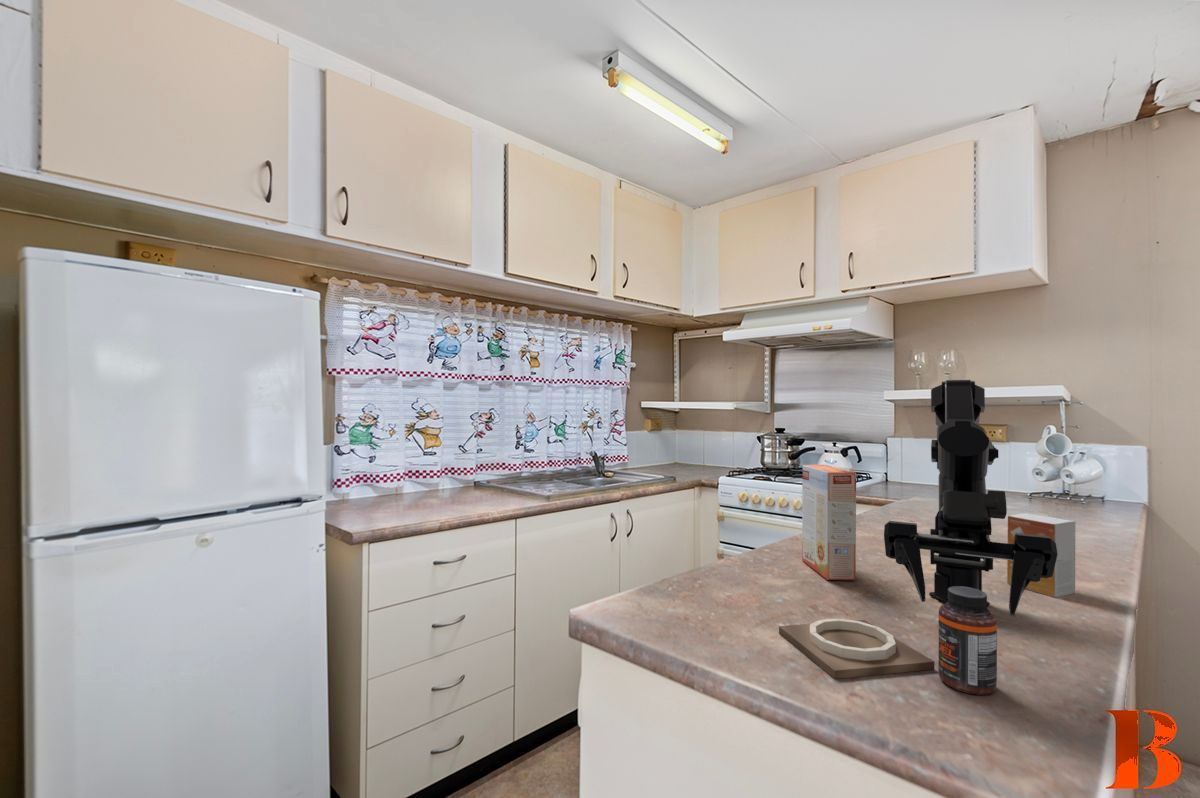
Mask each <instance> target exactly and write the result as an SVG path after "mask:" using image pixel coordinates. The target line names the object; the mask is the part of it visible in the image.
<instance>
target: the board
mask: <svg viewBox="0 0 1200 798" xmlns="http://www.w3.org/2000/svg"><path fill="white" fill-rule="evenodd" d="M854 621H860V622H863V623H867V624H870V625H873V626H875V625H874V624H872V623H870V622H869V621H867V620H865V619H857V620H854ZM810 624H811V623H806V624H805V623H803V624H791V625H779V626H778V633H779V635H781V637H783V638H784V639H786V641H788V642H789V643H790V644H792V645H793V646H794V647H795V648H797V650H799V651H800V652H801V653H803V654H804V655H805V656H806V657H807V658H809V659H810V660H811V661H812V662H814V663H815V664H816V665H817V666H818V667H820V668H821V669H822V670H823V671H825V673H827V674H828V675H830V676H831V678H833V679H835V680H838V679H846V678H847V679H848V678H857V677H869V676H879V675H890V674H899V673H911V672H920V671H930V670H933V671H934V670H935V661H934V660H933V659H931V658H929V657H927V655H925V654H922V653H921V652H919V651H918V650H916V649H914V648H913V647H911V646H909V645H907V644H905V643H904V642H902V641H901V640H899V639H897V638H895V637H894V636H893V638H894V641H895V643H896V653H895V654H893V655H892V656H890V657H889V658H887V659H881V660H870V661H864V660H857V659H850V658H843V657H840V656H837V655H834V654H831V653H829V652H826V651H823V650H821V649H820V648H818V647H817V646H816V645H814V644H813V643H812V642H811V641H810ZM818 634H819V635H820V636H822V637H823V638H824V639H826V640H828V641H831V642H834V643H837V644H840V645H843V646H849V647H856V648H863V649H865V648H877V647H882V646H883V645H885V644H886V643H884V642H882V641H881V640H879V639H878V638H876V637H874V636H871V635H868V634H865V633H861V632H858V631H851V630H843V629H833V630H824V631H822V632H820V633H818Z"/></svg>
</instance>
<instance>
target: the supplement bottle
mask: <svg viewBox="0 0 1200 798" xmlns="http://www.w3.org/2000/svg"><path fill="white" fill-rule="evenodd" d="M947 598H948V601H947V603H945V602H944V603H943V604H942V605H940V607H939V609H938V656H937V657H938V663H937V664H938V667H937V668H938V677H939V678H940V680H941V681H942V682H943V683H945V684H946V685H947V686H948V687H951V688H953V689H954V690H957V691H959V692H964V693H966V694H972V695H978V696H981V695H982V696H983V695H989V694H993V693H994V692H995V691H996V690H997V683H998V682H997V680H998V678H997V677H998V675H997V674H998V672H997V671H998V667H997V664H998V659H997V657H998V653H997V652H998V632H997V631H998V630H997V629H998V625H997V624H998V622H997V617H996V616H995V614H994V612H992V611H991V610H989V609H988V608H987V607H988V606H987V605H988V603H987V601H988V595H987V593H986V592H984V591H983V590H982V591H980V590H978V589H974V588H969V587H963V586H954V587H950V588H948V596H947Z"/></svg>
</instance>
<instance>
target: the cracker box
mask: <svg viewBox="0 0 1200 798" xmlns="http://www.w3.org/2000/svg"><path fill="white" fill-rule="evenodd" d="M801 471H802V475H801V476H802V484H801V485H802V486H801V487H802V496H801V497H802V499H801V500H802V505H801V506H802V510H801V513H802V514H801V515H802V516H801V517H802V518H801V521H802V523H801V525H802V526H801V527H802V528H801V541H802V542H801V561H802V562H803V563H805V564H806V565H807V566H809V568H811V569H812V570H814V571H815V572H816V573H817V574H820V576H822V578H824V579H826V581H827V580H828V581H856V579H857V578H856V577H857V575H856V567H857V565H856V563H857V561H856V560H857V559H856V557H857V555H856V553H857V551H856V549H857V472H855V471H851V470H847V469H844V468H839V467H835V466H832V465H828V464H803V465H802V470H801Z"/></svg>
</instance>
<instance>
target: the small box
mask: <svg viewBox="0 0 1200 798" xmlns="http://www.w3.org/2000/svg"><path fill="white" fill-rule="evenodd" d="M1015 533H1021V534H1031V535H1041V536H1049V537H1050V538H1051V539H1052V540H1053V541H1054V542H1055V543H1056V547H1057V554H1058V555H1057V559H1056V563H1055V568H1054V572H1053V576H1052V577H1049V578H1041V580H1040V581H1039V582H1030V583H1029V584H1028V586H1027V587H1026V589H1025V590H1027V591H1028V590H1029V591H1032V592H1035V593H1039V594H1042V595H1045V596H1049V597H1051V598H1060V597H1063V596H1067V595H1068V596H1069V595H1072V594H1073V595H1074V594H1075V593H1076V521H1075V520H1070V519H1063V518H1058V517H1053V516H1047V515H1039V514H1034V513H1027V512H1025V513H1017V514H1016V513H1015V514H1011V515H1010V514H1009V515H1007V544H1014V539H1015ZM1006 563H1007V565H1006V566H1007V567H1006V573H1007V575H1006V580H1007V581H1006V584H1007V585H1009V586H1011V574H1012V568H1013V561H1012V560H1006Z"/></svg>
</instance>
